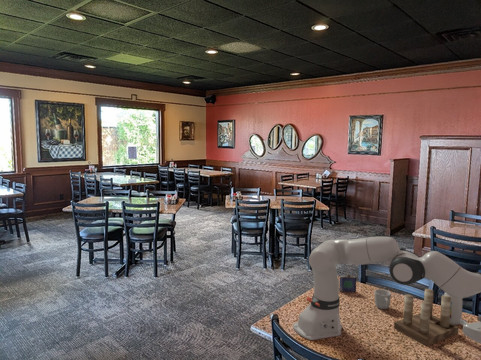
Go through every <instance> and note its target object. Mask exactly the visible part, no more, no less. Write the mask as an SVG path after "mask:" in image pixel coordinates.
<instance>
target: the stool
mask: <svg viewBox="0 0 481 360" xmlns="http://www.w3.org/2000/svg"><path fill="white" fill-rule="evenodd" d="M423 294H424V297H423V299H424V300H423V301H421V302H420V311H419V312H420V313H418V314H414V315H413V313H414V312H413V311H414V296H413V295H411V294H404V301H403V317H402V319H400V320H396V321H394V324H393V329H394V330H396V331H398V332H400V333H402V334H403V335H405V336H407V337H409V338H411V339H412V340H415V341H416V342H418V343H421V345H423V346H425V345H426V347H428V345H429V346H431V345H433V343H434V344H436V343H438V341H439V342H441V341H443V340H446V339H448V338H450V337H453V336H455V335H458V334H459V331H460V330H459V329H460V328H459V326H458V325H453V324H451V323H449V329H445V328H442V327H440V317H438V316H436V315H433V311H434V306H433V305H434V289H432V288H425V289H424V293H423Z"/></svg>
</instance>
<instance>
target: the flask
mask: <svg viewBox="0 0 481 360" xmlns="http://www.w3.org/2000/svg"><path fill="white" fill-rule="evenodd" d="M340 292H341V293H352V292H353V293H355V294H356V293H357V276H355V275H350V273H349V272H347V273H346V275H340V276H339V293H340Z"/></svg>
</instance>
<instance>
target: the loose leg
mask: <svg viewBox="0 0 481 360" xmlns="http://www.w3.org/2000/svg"><path fill="white" fill-rule="evenodd" d="M440 299H441V300H440V301H441V302H440V304H441V305H440V316H439V318H440V327H442V328H445V329H449V323H450V306H451V297H449V296H446V295H444V294H442V295H441V297H440Z"/></svg>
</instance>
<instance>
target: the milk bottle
mask: <svg viewBox="0 0 481 360" xmlns="http://www.w3.org/2000/svg"><path fill="white" fill-rule="evenodd" d="M443 295H446V296H449V297H451V306H450V323H451V324H453V325H455V326H458V325H459V326H460V325H461V324H460V320H461V319H462V318H463V317H462V316H463V298H455V297H452V296H450V295H448V294H447V293H446V292H444V294H443Z"/></svg>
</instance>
